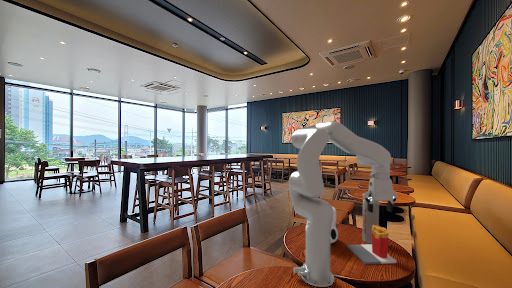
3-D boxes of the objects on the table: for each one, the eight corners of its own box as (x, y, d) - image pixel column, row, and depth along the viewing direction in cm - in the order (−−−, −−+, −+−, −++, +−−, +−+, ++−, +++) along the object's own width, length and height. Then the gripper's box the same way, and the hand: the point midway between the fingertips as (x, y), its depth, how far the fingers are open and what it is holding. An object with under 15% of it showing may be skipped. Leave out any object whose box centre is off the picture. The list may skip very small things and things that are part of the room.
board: (365, 264, 94) (365, 262, 94) (346, 246, 110) (346, 245, 110) (396, 263, 96) (396, 260, 96) (373, 246, 112) (373, 244, 112)
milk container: (305, 245, 112) (305, 211, 112) (305, 231, 129) (305, 202, 129) (340, 249, 108) (340, 214, 108) (335, 235, 125) (335, 204, 125)
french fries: (368, 250, 105) (369, 224, 105) (376, 249, 106) (376, 223, 106) (383, 260, 96) (384, 231, 96) (391, 259, 97) (391, 230, 97)
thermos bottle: (364, 243, 115) (365, 191, 115) (360, 237, 122) (361, 188, 122) (380, 244, 113) (381, 192, 113) (375, 238, 121) (376, 189, 121)
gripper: (368, 177, 97) (367, 214, 97) (403, 177, 98) (402, 214, 98) (358, 174, 104) (358, 209, 104) (391, 175, 106) (391, 209, 106)
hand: (379, 211), depth 101 cm, fingers open, 9 cm apart
